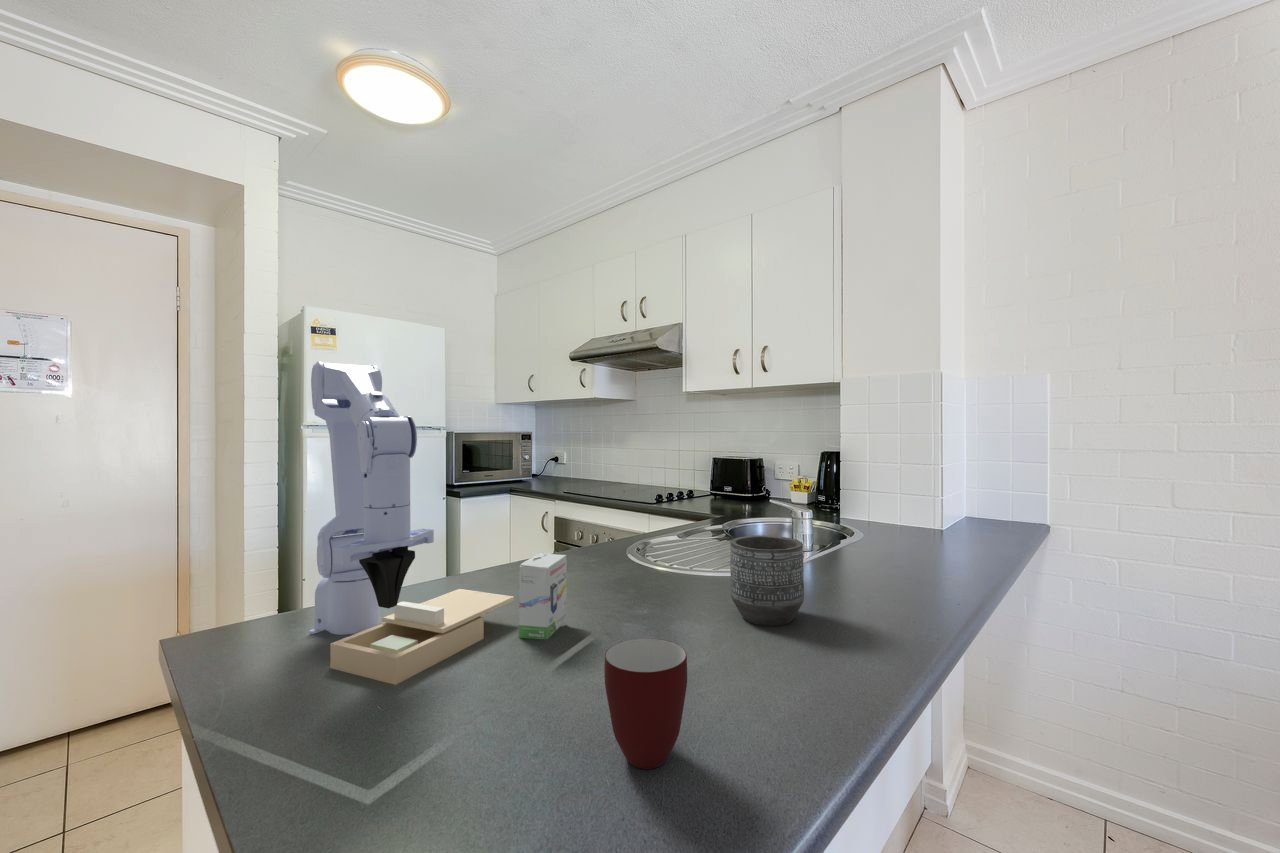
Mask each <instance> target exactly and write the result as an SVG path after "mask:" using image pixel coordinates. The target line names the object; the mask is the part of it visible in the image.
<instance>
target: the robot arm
mask: <svg viewBox="0 0 1280 853" xmlns="http://www.w3.org/2000/svg"><path fill="white" fill-rule="evenodd" d="M310 387H311V402H312V404H311V405H312V409H313V411H314V412H313V413H314V416H316V417H318V418H320V419H322V420H324V421H325V423H326V424H325V425H326V427H327V430H328V436H329V446H330V457H331V458H330V461H331V471H332V483H333V484H332V485H333V497H334V499H333V500H334V509H335V516H334V517H333V518H331V519H330V520H329V521H328V522H326V524H325V525H323V526H322V527H320V530H319V532H318V534H317V547H316V563H317V565H316V566H317V571H318V573H319V576H321V577H322V579H320V581H319V582H318V584H317V585H316V588H315V591H314V628H312V629H310V630H309V634H311V635H314V634H316V633H320V632H323V631H327V632H329V633H330V634H332V635H333V634H334V635H341V636H342V635H344V636H345V635H354V634H356V633H359V632H361V631H364V630H367V629H369V628H372V627H374V626H377V625H379V624H380V608H385V609H391V608H394V606H397V603H399V599H400V594H401V590H402V587H403V585H404V581H405V578H406V576H407V573H408V571H409V569H410V567H411V566H412V563H413V562H414V560H416V559H415V558H416V551H415V550H409V548H411V547H415V546H420V545H423V544H433V543H434V541H435V539H434V538H435V536H434V534H435V533H434V531H435V530H434V529H433V528H420V529H419V528H418V529H415V530H412V529H411V459H412V458H413V457H414V456H415V454H416V450H417V446H418V433H417V427H416V423H415V420H414V419H413V417H412V416H410V415H405V416H400V415H399V413H398V411H397V410H396V408H395V407H394V406H393V404H392V402H391V401H390V399H389V398H388V397H387V396H386V395H384V394H383V392H382V389H383V376H382V371H381V369H379V367H378V366H377V365H376V364H375V365H373V364H372V365H363V364H361V365H360V364H347V363H334V362H333V363H332V362H323V361H319V360H318V361H316V363H314V364H313V366H312V369H311V378H310Z"/></svg>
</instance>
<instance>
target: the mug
mask: <svg viewBox="0 0 1280 853" xmlns="http://www.w3.org/2000/svg"><path fill="white" fill-rule="evenodd" d="M687 661H688V656H687V652H686V650H685V649H684V648H683V647H682V646H680V645H679V644H677V643H674V642H672V641H668V640H664V639H659V638H635V639H633V638H632V639H627V640H624V641H620V642H618V643H615V644H613V645H612V646H610V647H609V648H608V649H607V650H606V651H605V654H604V668H603V669H604V686H605V687H604V688H605V692H606V697H607V698H606V699H607V704H608V710H609V714H610V721H611V726H612V731H613V735H614V738H615V740H616V743H617V744H618V747H619V748H620V749H621V752H622V753H623V756H624V757H625V759H626V761H627V763H629V765H631V766H632V767H635V768H637V769H644V770H650V769H655V768H658V767H659V768H660V767H661V766H662V765H664V764H665V763H666V761H667V760H668V758H669V756H670V754H671V753H672V750H673V748H674V747H675V745H676V742H677V740H678V737H679V734H680V731H681V725H682V720H683V712H684V706H685V700H686V694H687V693H686V692H687V687H688V662H687Z"/></svg>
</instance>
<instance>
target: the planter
mask: <svg viewBox="0 0 1280 853" xmlns="http://www.w3.org/2000/svg"><path fill="white" fill-rule="evenodd" d="M729 548H730V554H729V555H730V556H729V559H730V560H729V562H730V564H729V566H730V586H729V587H730V590H729V591H730V598H731V600H732V602H733V603H734V605H735V608H736V609H737V611H738V612H739V614H740V615H741V616H742V618H743V619H744V620H745V621H747V622H748V623H751V624H755V625H758V626H759V625H760V626H765V627H767V626H768V627H770V626H771V627H777V626H784V625H787V624H790V623H791V622H792V621H793V620H794V618H795V616H796V615H797V613H798V612H799V611H800V609H801V607H802V605H803V603H804V601H805V600H804V599H805V598H804V597H805V583H804V582H805V581H804V579H805V578H804V575H805V574H804V570H805V569H804V568H805V567H804V566H805V565H804V543H803V542H802V541H800V540H798V539H795V538H791V537H786V536H775V535H747V536H745V535H743V536H739V537H736V538H732V539H731V540H730V547H729Z"/></svg>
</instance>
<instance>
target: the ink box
mask: <svg viewBox="0 0 1280 853" xmlns="http://www.w3.org/2000/svg"><path fill="white" fill-rule="evenodd" d="M567 556H568V555H567V554H555V553H554V554H553V553H545V552H544V553H543V552H540V553H538V554H536V555H534V556H532V557H530V558H529V559H527V560H525V561H523V562H521V563H520V565H519V579H518V580H519V581H518V582H519V583H518V584H519V585H518V587H519V588H518V590H519V591H518V596H519V597H518V638H520V639H531V640H548V639H550V637H551V636H552V635H553V634H554V633H555V632H556V631H557V630H558V629H560V627H564V626H565V625H566V624H567V596H568V595H567V578H568V577H567V576H568V575H567V573H568V572H567V568H568V567H567V566H568V565H567V564H568V563H567V562H568V558H567Z"/></svg>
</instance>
